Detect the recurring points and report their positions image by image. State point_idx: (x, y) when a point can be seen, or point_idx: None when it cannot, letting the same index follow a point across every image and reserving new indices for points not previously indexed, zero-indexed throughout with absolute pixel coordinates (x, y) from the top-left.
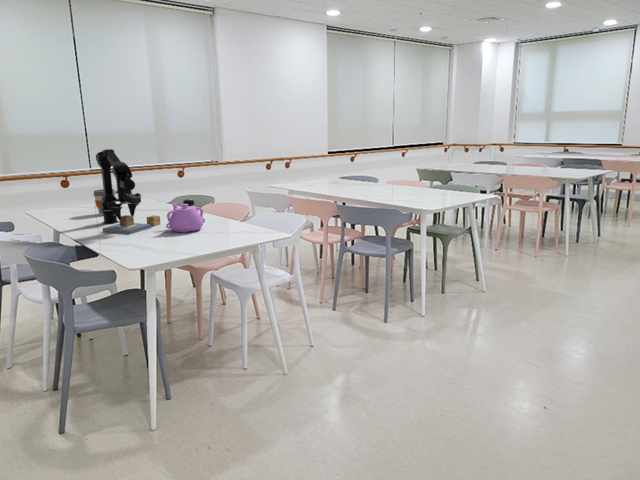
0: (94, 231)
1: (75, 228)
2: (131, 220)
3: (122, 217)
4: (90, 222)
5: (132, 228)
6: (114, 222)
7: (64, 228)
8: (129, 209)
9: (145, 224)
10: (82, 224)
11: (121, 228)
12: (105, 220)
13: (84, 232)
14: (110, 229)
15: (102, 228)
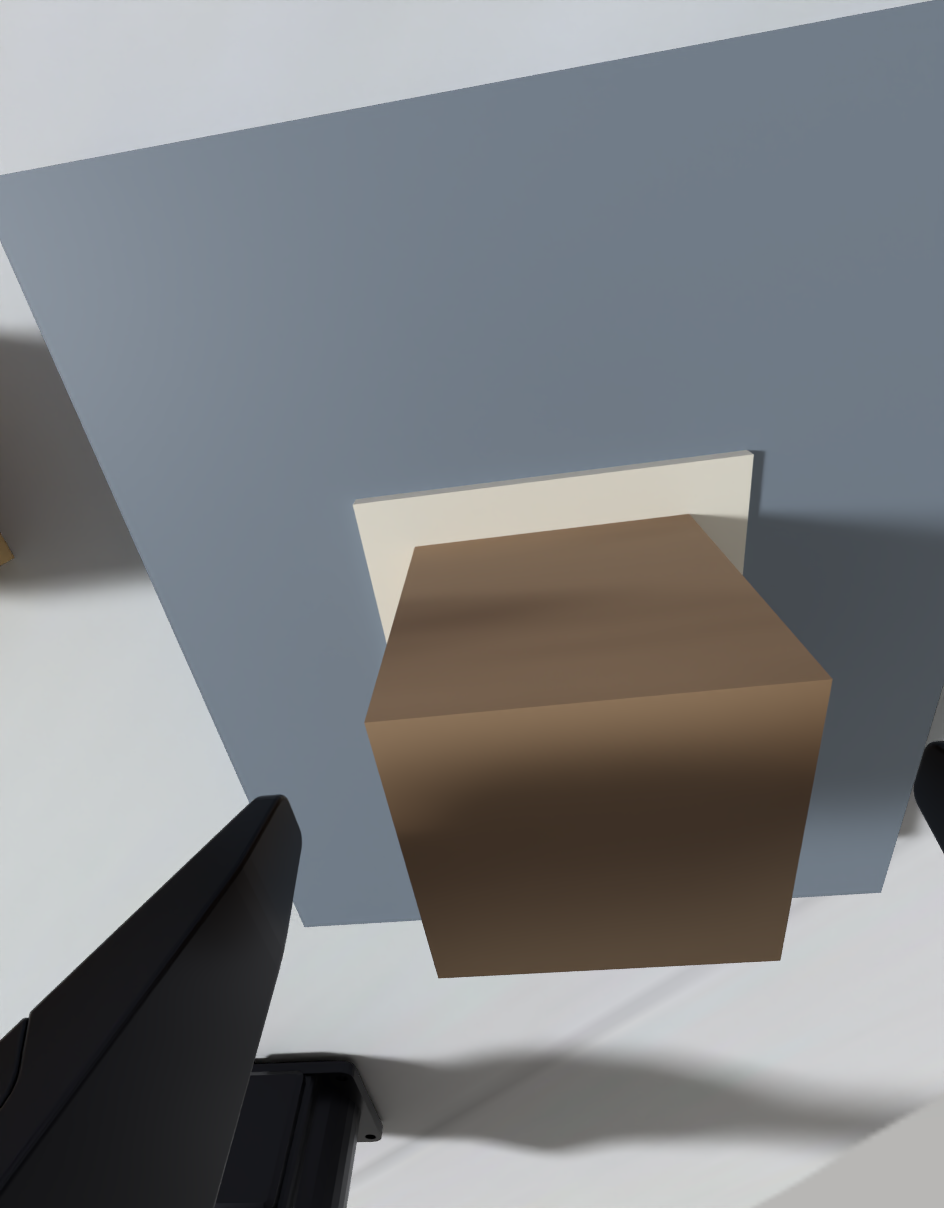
0: (828, 936)
1: (712, 1147)
2: (505, 608)
3: (795, 838)
4: (408, 1198)
5: (805, 188)
6: (282, 1068)
7: (741, 1196)
8: None
9: (126, 354)
10: (518, 1195)
11: (859, 539)
12: (354, 1151)
13: (917, 983)
14: (917, 727)
15: (876, 885)
